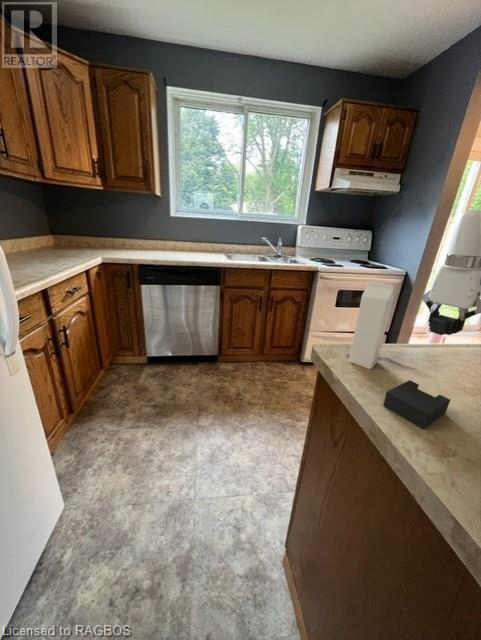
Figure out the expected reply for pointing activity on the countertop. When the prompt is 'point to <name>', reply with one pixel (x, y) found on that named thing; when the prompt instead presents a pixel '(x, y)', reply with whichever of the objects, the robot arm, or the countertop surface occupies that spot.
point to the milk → (371, 324)
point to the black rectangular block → (442, 325)
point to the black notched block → (415, 404)
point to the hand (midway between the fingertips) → (443, 328)
